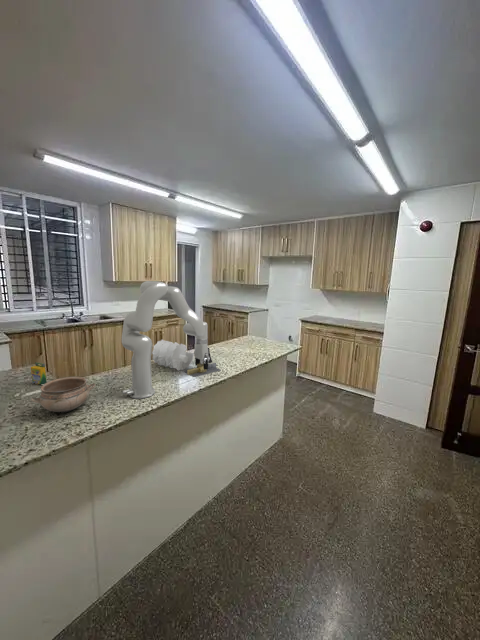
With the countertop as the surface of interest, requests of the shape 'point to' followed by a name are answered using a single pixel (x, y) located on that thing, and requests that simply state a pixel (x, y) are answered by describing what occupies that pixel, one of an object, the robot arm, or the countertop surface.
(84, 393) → the cooking pot
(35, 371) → the crayon box
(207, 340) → the robot arm
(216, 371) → the mat
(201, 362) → the fixed leaf
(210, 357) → the phone stand
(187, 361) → the spiral staircase
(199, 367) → the loose leaf
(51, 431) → the countertop surface
